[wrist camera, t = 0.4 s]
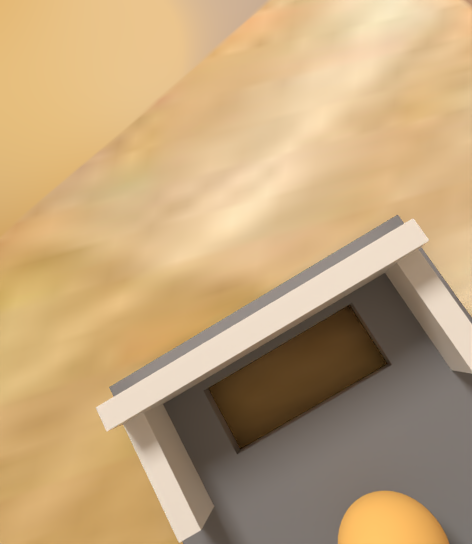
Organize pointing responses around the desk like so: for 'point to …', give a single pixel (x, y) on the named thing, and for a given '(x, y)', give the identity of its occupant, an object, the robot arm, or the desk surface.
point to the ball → (389, 521)
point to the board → (334, 428)
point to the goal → (261, 329)
